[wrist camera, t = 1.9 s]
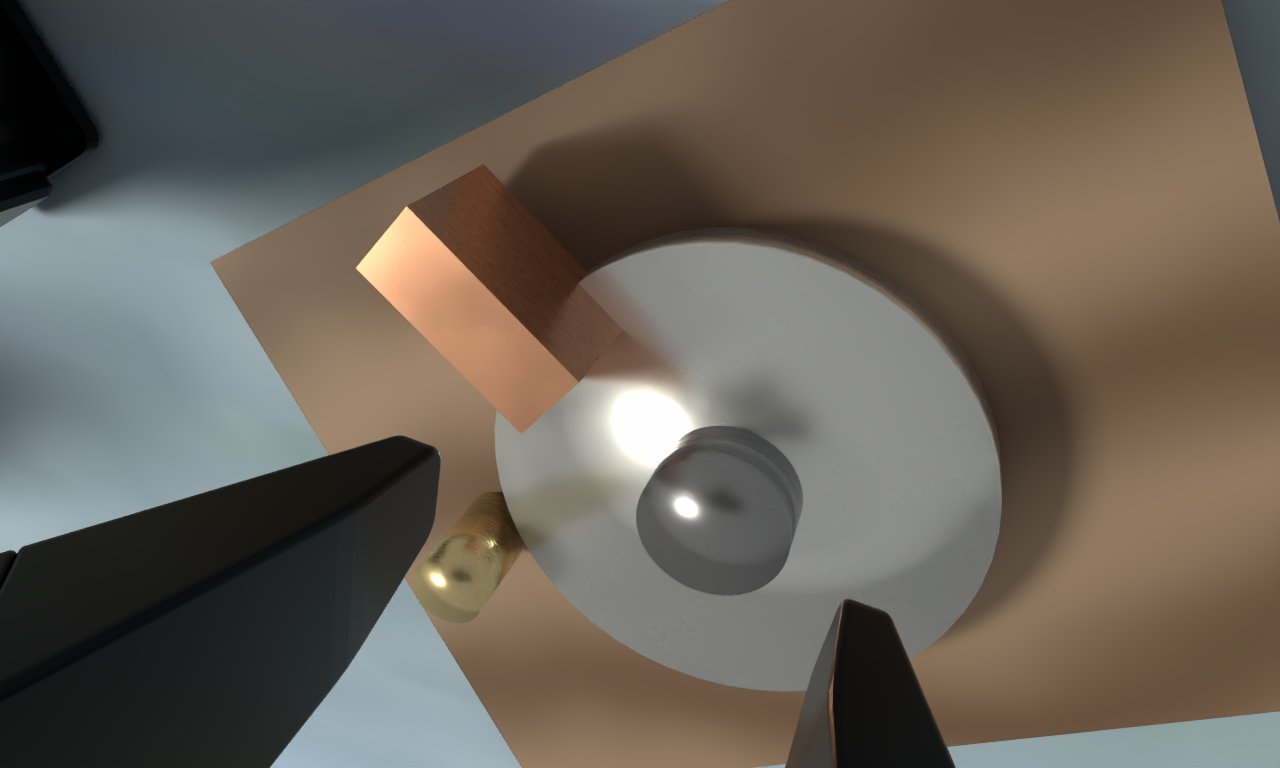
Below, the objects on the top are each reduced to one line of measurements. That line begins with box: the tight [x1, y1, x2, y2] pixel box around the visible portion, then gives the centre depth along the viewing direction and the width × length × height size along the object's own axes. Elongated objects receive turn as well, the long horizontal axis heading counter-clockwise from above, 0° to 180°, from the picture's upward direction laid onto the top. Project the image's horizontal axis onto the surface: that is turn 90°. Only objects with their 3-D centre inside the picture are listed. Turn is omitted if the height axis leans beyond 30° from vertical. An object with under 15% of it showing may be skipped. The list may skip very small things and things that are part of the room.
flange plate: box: [356, 164, 1002, 691], centre depth 20 cm, size 14×11×4 cm
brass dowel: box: [412, 492, 526, 623], centre depth 24 cm, size 2×2×3 cm
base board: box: [210, 0, 1280, 768], centre depth 23 cm, size 18×22×1 cm
